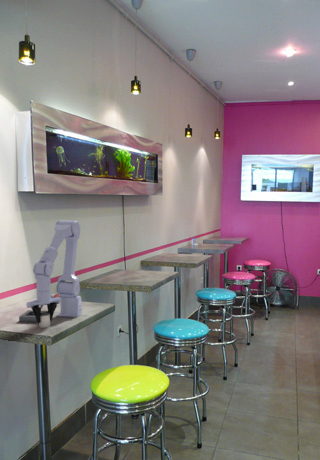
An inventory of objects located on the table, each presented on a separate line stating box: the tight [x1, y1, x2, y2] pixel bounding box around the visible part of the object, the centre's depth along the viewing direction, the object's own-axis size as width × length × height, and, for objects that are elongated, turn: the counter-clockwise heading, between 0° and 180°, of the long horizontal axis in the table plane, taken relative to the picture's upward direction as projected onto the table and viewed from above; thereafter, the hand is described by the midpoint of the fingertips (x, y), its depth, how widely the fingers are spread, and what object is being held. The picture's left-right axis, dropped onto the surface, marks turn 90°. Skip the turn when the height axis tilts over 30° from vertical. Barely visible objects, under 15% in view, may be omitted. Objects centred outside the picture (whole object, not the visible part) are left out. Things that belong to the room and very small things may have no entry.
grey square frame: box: [18, 309, 37, 324], centre depth 190 cm, size 10×10×2 cm
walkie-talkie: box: [40, 292, 60, 308], centre depth 219 cm, size 9×4×20 cm
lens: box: [38, 310, 51, 329], centre depth 180 cm, size 5×5×6 cm
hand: (44, 321), depth 180 cm, fingers closed on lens, 5 cm apart
